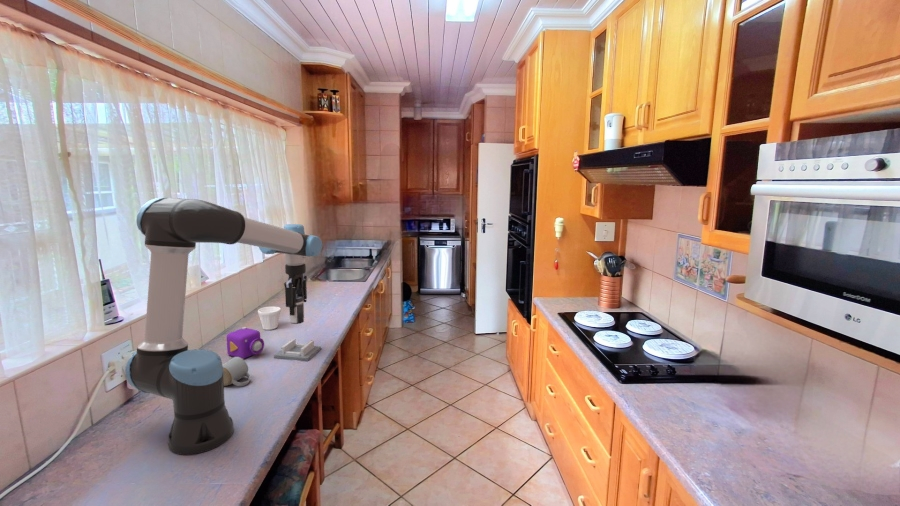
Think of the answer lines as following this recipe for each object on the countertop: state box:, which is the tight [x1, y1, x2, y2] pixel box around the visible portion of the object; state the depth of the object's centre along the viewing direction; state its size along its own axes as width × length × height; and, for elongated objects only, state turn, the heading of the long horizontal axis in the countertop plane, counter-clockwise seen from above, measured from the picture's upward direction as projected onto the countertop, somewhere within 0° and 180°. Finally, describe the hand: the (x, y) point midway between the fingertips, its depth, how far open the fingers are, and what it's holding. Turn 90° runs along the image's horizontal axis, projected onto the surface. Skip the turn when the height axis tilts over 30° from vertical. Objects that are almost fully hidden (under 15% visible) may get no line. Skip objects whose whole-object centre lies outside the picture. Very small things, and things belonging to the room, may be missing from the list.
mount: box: [273, 338, 322, 362], centre depth 166 cm, size 12×14×4 cm
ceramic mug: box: [222, 356, 251, 387], centre depth 140 cm, size 11×8×8 cm
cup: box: [257, 306, 282, 331], centre depth 192 cm, size 10×10×9 cm
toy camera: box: [226, 326, 265, 360], centre depth 163 cm, size 11×14×10 cm
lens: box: [291, 296, 305, 325], centre depth 163 cm, size 5×5×10 cm
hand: (297, 320), depth 163 cm, fingers closed on lens, 5 cm apart
